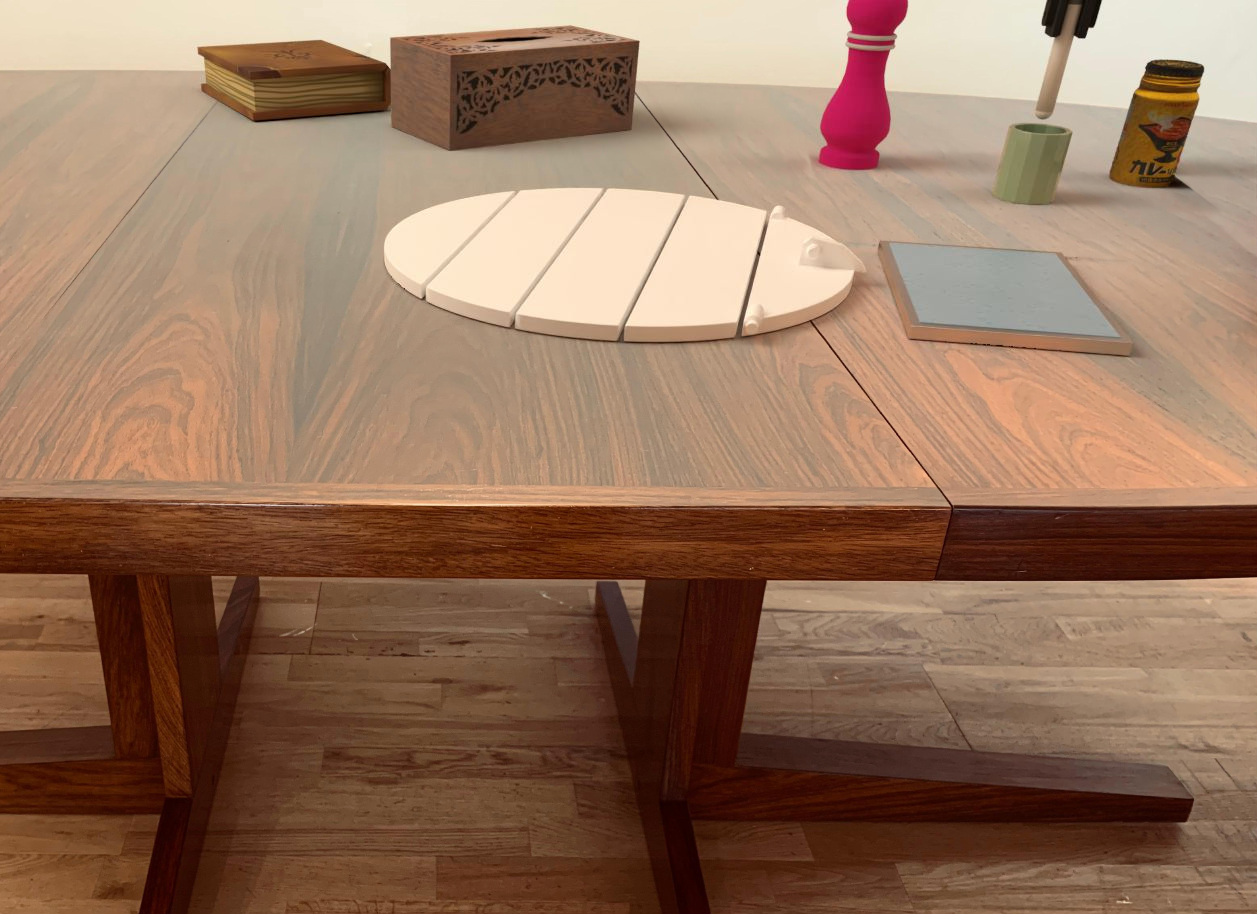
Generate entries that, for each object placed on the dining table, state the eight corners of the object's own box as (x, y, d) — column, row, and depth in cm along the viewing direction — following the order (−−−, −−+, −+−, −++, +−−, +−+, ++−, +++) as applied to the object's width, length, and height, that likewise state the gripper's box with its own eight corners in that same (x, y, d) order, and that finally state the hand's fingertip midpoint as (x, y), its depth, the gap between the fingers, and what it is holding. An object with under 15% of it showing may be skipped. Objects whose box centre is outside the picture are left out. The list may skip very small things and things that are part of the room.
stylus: (1049, 118, 116) (1090, -32, 109) (1052, 121, 115) (1094, -31, 108) (1031, 117, 117) (1070, -33, 110) (1034, 120, 115) (1075, -31, 108)
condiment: (1158, 197, 122) (1199, 70, 116) (1075, 181, 127) (1110, 59, 121) (1185, 185, 126) (1226, 63, 120) (1103, 171, 132) (1138, 52, 125)
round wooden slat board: (863, 221, 113) (870, 184, 111) (862, 371, 81) (872, 322, 79) (457, 186, 122) (457, 151, 121) (314, 307, 91) (312, 262, 89)
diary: (392, 110, 155) (391, 62, 152) (253, 122, 148) (250, 72, 145) (328, 81, 172) (326, 37, 169) (201, 90, 165) (197, 45, 162)
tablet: (1058, 263, 103) (1062, 251, 102) (1129, 356, 84) (1134, 342, 84) (877, 251, 105) (879, 239, 104) (908, 339, 87) (911, 324, 86)
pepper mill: (811, 171, 130) (846, -36, 119) (815, 157, 135) (849, -42, 125) (880, 177, 128) (923, -33, 117) (882, 163, 133) (923, -39, 123)
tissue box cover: (449, 150, 136) (450, 55, 131) (391, 126, 147) (390, 37, 141) (631, 129, 147) (639, 40, 142) (565, 108, 157) (570, 25, 152)
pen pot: (1044, 196, 122) (1064, 124, 118) (1057, 211, 117) (1078, 136, 113) (986, 193, 123) (1004, 121, 119) (996, 207, 118) (1016, 133, 114)
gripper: (1213, -198, 104) (1143, 34, 114) (1021, -201, 106) (969, 27, 116) (1244, -200, 97) (1167, 46, 107) (1039, -203, 100) (983, 38, 110)
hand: (1064, 34), depth 112 cm, fingers closed on stylus, 1 cm apart
